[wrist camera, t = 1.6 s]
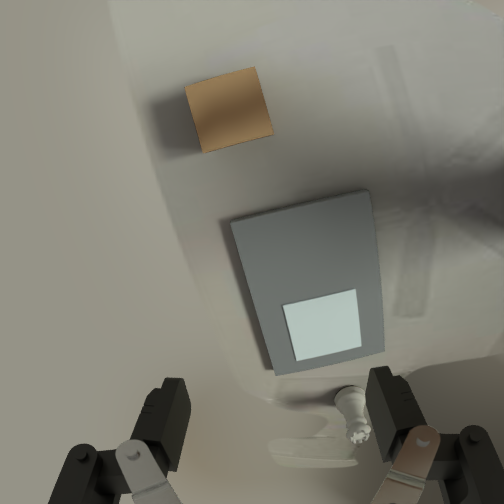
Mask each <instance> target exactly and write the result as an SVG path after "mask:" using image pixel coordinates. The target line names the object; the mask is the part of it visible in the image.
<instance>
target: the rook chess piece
mask: <svg viewBox="0 0 504 504" xmlns="http://www.w3.org/2000/svg"><path fill="white" fill-rule="evenodd" d="M334 401H335V404H336V408H337V409H338V410H339V411H340V412H341V413H342V414H343V415H344V417H345V419H346V422H347V424H346V428H347V429H348V431H347V433H346V437H347V438H348V439H350V441H352V443H356V441H358V443H361V442H362V439H364V440H365V441H366V440H367V439H368V436H369V432H370V431H371V428H370V427H369V426H368V425H366V423H367V420H366V419H365V418H364V415H363V407H364V404H365V401H366V400H365V393H364V391H363V389H362V388H359V387H356V386H349V387H345V388H343V389H342V390H340V391H339V392H338V393H337V395H336V396H335V399H334Z"/></svg>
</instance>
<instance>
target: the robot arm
mask: <svg viewBox="0 0 504 504" xmlns="http://www.w3.org/2000/svg"><path fill="white" fill-rule="evenodd" d="M365 400H366V406H367V409H368V412H369V416H370V419H371V422H372V425H373V429H374V432H375V435H376V439H377V442H378V446H379V449H380V453H381V456H382V460H383V462H388V461H391V462H392V465H393V466H392V468H391V470H390V471H389V473H388V475H387V476H386V478H385V480H384V482H383V483H382V485H381V487H380V489H379V490H378V492H377V494H376V496H375V497H374V499H373V500H372V502H371V504H416V503H417V502H418V499H419V497H420V495H421V493H422V491H423V489H424V486H425V480H438V482H439V486H440V489H441V493H442V497H443V501H444V504H504V469H503V467H502V464H501V462H500V460H499V458H498V455H497V453H496V451H495V448H494V446H493V444H492V442H491V439H490V437H489V435H488V433H487V432H486V430H485V429H484V428H482V427H480V426H476V425H471V426H467V427H465V428H464V429H463V430H462V431H461V432H460V434H440V433H439V432H438V431H437V430H436V429H435V428H433V427H431V426H428V425H427V423H426V421H425V419H424V416H423V414H422V412H421V410H420V408H419V405H418V404H417V401H416V399H415V397H414V395H413V393H412V391H411V388H410V386H409V384H408V382H407V381H405V380H404V379H403V378H402V377H401V376H400V375H398V376H393V375H392V373H391V371H390V368H389V367H388V366H382V367H376V368H371V369H370V372H369V378H368V383H367V388H366V393H365ZM190 414H191V402H190V399H189V395H188V392H187V389H186V385H185V382H184V379H183V378H165V379H164V382H163V384H162V387H161V389H160V388H155V389H153V390H152V391H151V392H150V394H148V396H147V398H146V400H145V403H144V406H143V407H142V410H141V414H140V415H139V417H138V420H137V422H136V425H135V427H134V430H133V433H132V435H131V438H130V440H128V441H125V442H123V443H121V444H120V445H119V446H118V448H117V449H115V450H106V451H96V449H95V448H94V447H93V446H91V445H89V444H79V445H77V446H74V447H73V448H72V449H71V450H70V451H69V453H68V455H67V458H66V460H65V462H64V465H63V467H62V470H61V472H60V474H59V477H58V479H57V482H56V484H55V487H54V489H53V492H52V495H51V497H50V500H49V502H48V504H119V500H120V497H121V494H128V493H132V494H133V495H132V499H133V501H134V503H135V504H182V502H181V501H180V499H179V498H178V497H177V495H176V493H175V492H174V490H173V488H172V487H171V485H170V484H169V482H168V480H167V479H166V478H167V474H168V471H173V472H176V471H177V468H178V464H179V459H180V455H181V451H182V446H183V443H184V439H185V435H186V431H187V427H188V422H189V418H190Z"/></svg>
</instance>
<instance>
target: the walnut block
mask: <svg viewBox="0 0 504 504" xmlns="http://www.w3.org/2000/svg"><path fill="white" fill-rule="evenodd" d="M184 88H185V92H186V95H187V99H188V102H189V106H190V109H191V113H192V116H193V120H194V123H195V127H196V130H197V134H198V137H199V141H200V144H201V148H202V151H203V153H207V152H210V151H214V150H218V149H221V148H225V147H228V146H232V145H235V144H239V143H243V142H246V141H250V140H254V139H258V138H262V137H266V136H270V135H273V134H274V132H273V129H272V125H271V121H270V118H269V114H268V110H267V107H266V103H265V100H264V96H263V93H262V89H261V86H260V83H259V79H258V76H257V72H256V69H255V67H251V68H247V69H243V70H239V71H235V72H232V73H228V74H225V75H221V76H218V77H214V78H211V79H208V80H205V81H201V82H198V83H195V84H192V85H189V86H186V87H184Z"/></svg>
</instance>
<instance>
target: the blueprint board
mask: <svg viewBox="0 0 504 504" xmlns="http://www.w3.org/2000/svg"><path fill="white" fill-rule="evenodd" d="M230 225H231V228H232V232H233V235H234V239H235V242H236V245H237V249H238V252H239V256H240V259H241V263H242V266H243V269H244V273H245V276H246V279H247V283H248V286H249V290H250V293H251V296H252V300H253V303H254V306H255V310H256V313H257V316H258V320H259V323H260V326H261V330H262V333H263V336H264V339H265V343H266V346H267V349H268V353H269V356H270V359H271V362H272V366H273V369H274V372H275V375H276V376H279V375H284V374H289V373H295V372H300V371H305V370H310V369H314V368H319V367H324V366H328V365H333V364H337V363H341V362H345V361H349V360H353V359H357V358H361V357H365V356H369V355H373V354H376V353H380V352H383V351H385V344H384V319H383V303H382V289H381V277H380V267H379V257H378V249H377V240H376V233H375V225H374V218H373V211H372V205H371V199H370V193H369V191H368V190H366V189H364V190H359V191H355V192H350V193H345V194H341V195H336V196H332V197H327V198H323V199H318V200H314V201H309V202H305V203H301V204H296V205H292V206H288V207H283V208H279V209H275V210H271V211H266V212H262V213H258V214H254V215H250V216H246V217H242V218H238V219H234V220H231V222H230Z"/></svg>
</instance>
